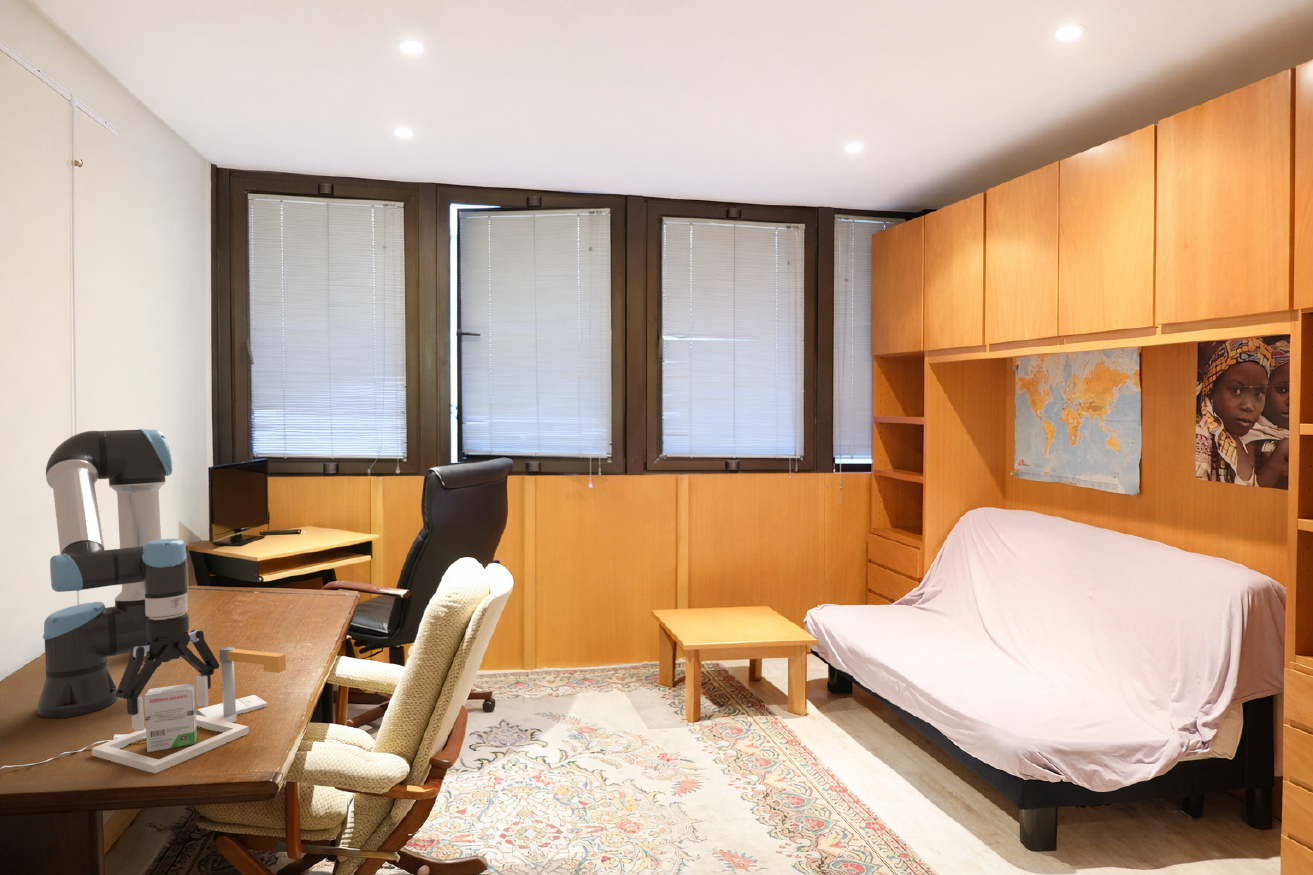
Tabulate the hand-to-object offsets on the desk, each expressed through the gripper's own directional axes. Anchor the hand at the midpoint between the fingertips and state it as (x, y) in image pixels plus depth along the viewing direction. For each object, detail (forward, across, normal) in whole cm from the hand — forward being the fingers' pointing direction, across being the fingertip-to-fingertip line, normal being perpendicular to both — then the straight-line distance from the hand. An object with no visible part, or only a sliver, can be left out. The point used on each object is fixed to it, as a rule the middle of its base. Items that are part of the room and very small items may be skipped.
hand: (171, 717), depth 163 cm
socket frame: (+6, +2, 0) cm, 6 cm away
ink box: (+6, 0, 0) cm, 6 cm away
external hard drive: (+6, +18, +6) cm, 20 cm away
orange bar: (-7, +14, -7) cm, 17 cm away
